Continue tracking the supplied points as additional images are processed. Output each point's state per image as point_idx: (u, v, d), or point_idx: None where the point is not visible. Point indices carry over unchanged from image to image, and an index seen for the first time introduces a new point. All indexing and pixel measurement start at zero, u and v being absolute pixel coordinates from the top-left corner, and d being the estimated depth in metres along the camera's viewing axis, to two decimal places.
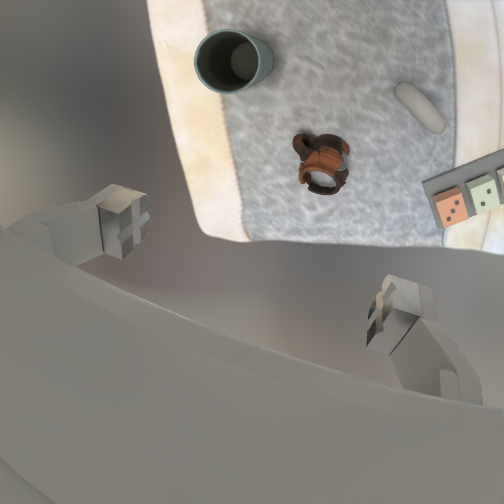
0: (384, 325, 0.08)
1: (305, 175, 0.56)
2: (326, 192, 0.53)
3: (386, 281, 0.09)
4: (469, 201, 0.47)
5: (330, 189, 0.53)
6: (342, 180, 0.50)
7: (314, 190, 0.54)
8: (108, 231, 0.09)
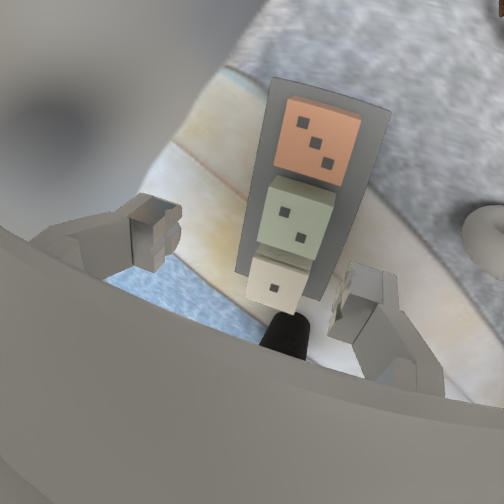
0: (342, 312, 0.08)
1: None
2: None
3: (348, 268, 0.09)
4: (289, 171, 0.27)
5: None
6: None
7: None
8: (140, 243, 0.09)
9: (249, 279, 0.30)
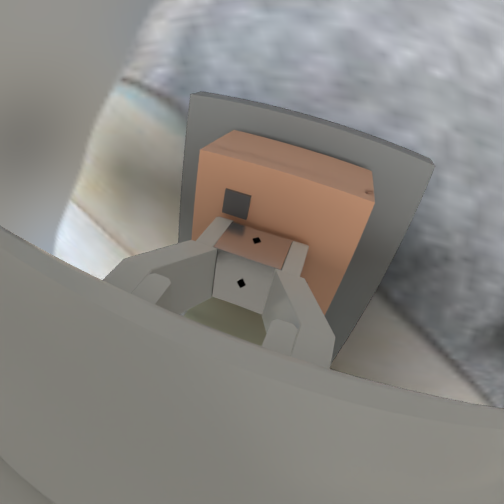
0: (244, 278, 0.08)
1: None
2: None
3: None
4: None
5: None
6: None
7: None
8: (226, 275, 0.09)
9: None
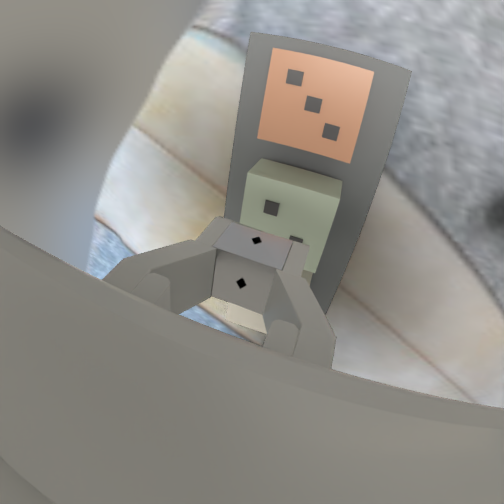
0: (245, 279, 0.08)
1: None
2: None
3: None
4: (278, 154, 0.20)
5: None
6: None
7: None
8: (225, 275, 0.09)
9: None
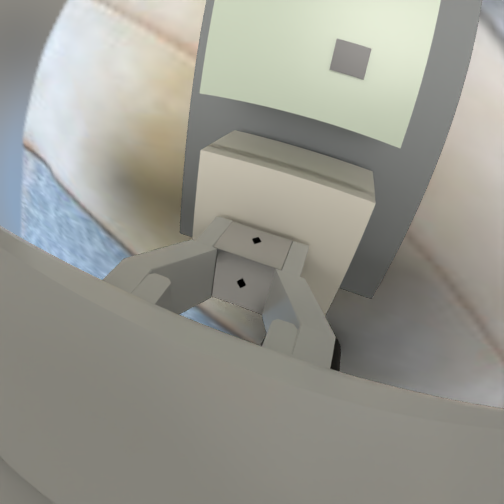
0: (244, 278, 0.08)
1: None
2: None
3: None
4: None
5: None
6: None
7: None
8: (226, 275, 0.09)
9: (197, 225, 0.10)
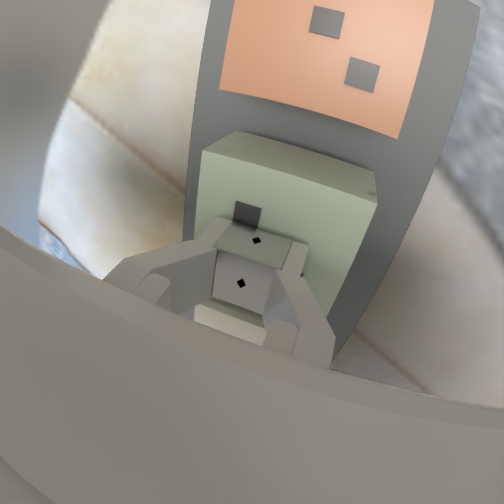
0: (244, 278, 0.08)
1: None
2: None
3: None
4: (265, 128, 0.12)
5: None
6: None
7: None
8: (226, 275, 0.09)
9: None
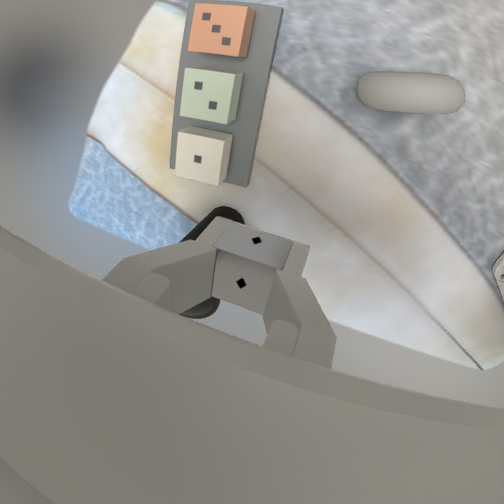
0: (245, 279, 0.08)
1: None
2: None
3: None
4: (205, 66, 0.29)
5: None
6: None
7: None
8: (225, 275, 0.09)
9: (177, 154, 0.32)
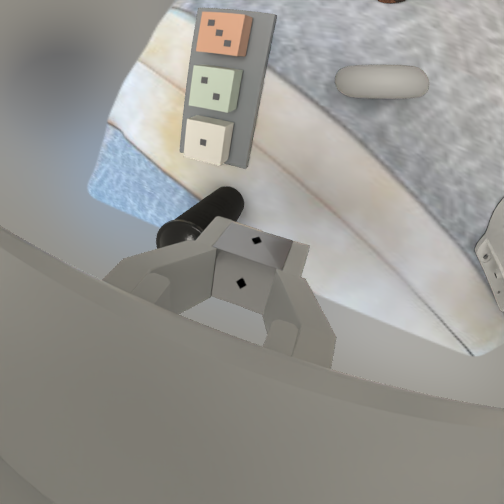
0: (245, 279, 0.08)
1: None
2: None
3: None
4: (211, 64, 0.34)
5: None
6: None
7: None
8: (225, 275, 0.09)
9: (186, 138, 0.38)
